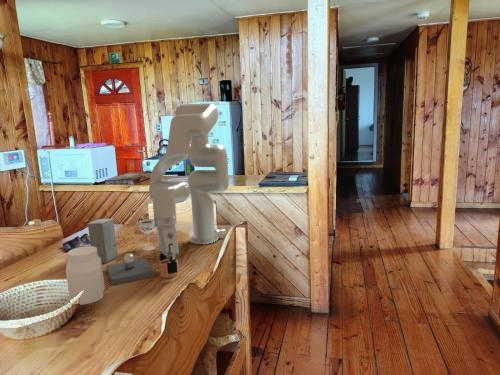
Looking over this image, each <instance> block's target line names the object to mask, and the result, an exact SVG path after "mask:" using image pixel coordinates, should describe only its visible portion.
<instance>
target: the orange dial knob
mask: <svg viewBox="0 0 500 375" xmlns="http://www.w3.org/2000/svg"><path fill="white" fill-rule="evenodd" d="M167 263H168V260H167V259H164V260H162V261H160V260H159V264H158V266H159V268H158V270H159V276H160V277H161V278H164V279H165V278H166V279H170V278H174V277H177V276H178V275H179V273H180V270H179V260H178V259H177V273H172V274H168V269H167Z"/></svg>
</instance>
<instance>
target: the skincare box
mask: <svg viewBox="0 0 500 375" xmlns="http://www.w3.org/2000/svg"><path fill="white" fill-rule="evenodd" d="M87 228H88V235H89V237H90V244H91V245H90V246H93V247H96V248H97V254H98V256H99V257H100V258H101V261H102V264H108V263H109V262H111V261H113V260H114V259H115V258H116V257H118V247H117V238H116V231H115V230H116V229H115V222H114V218H98V219H95V220H93V221H91V222H89V223H87Z"/></svg>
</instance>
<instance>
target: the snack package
mask: <svg viewBox="0 0 500 375" xmlns="http://www.w3.org/2000/svg"><path fill="white" fill-rule="evenodd" d="M84 246H91V244H90V237H89V233H84V234H82V235H80V236H78V235H77V236H76V237H74V238H72V239H70V240H67V241H65V242H63V243H62V248H63V251H64V252H66V253H68V252H69V251H70V250H72V249H75V248H78V247H84Z"/></svg>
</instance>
